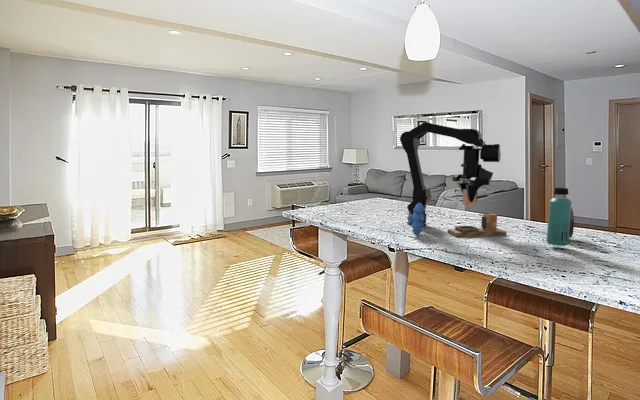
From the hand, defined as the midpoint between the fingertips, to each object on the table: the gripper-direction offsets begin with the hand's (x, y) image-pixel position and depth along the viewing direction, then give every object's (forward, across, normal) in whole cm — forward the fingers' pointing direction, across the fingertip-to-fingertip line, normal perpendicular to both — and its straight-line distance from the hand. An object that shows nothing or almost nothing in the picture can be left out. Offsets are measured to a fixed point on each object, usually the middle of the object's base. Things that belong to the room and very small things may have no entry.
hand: (469, 201), depth 164 cm
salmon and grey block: (+1, 0, 0) cm, 1 cm away
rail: (+12, -8, +1) cm, 14 cm away
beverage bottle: (+12, -31, -15) cm, 37 cm away
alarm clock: (+12, -20, -25) cm, 34 cm away
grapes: (+12, -5, +24) cm, 27 cm away
